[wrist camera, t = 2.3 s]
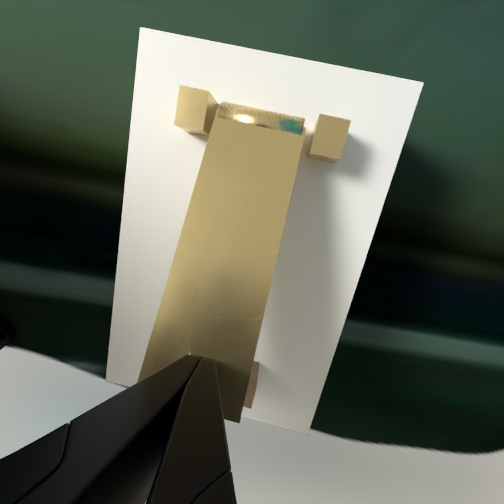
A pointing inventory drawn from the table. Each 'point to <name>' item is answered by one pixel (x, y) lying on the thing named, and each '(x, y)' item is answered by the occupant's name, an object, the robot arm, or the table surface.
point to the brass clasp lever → (228, 248)
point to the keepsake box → (298, 215)
